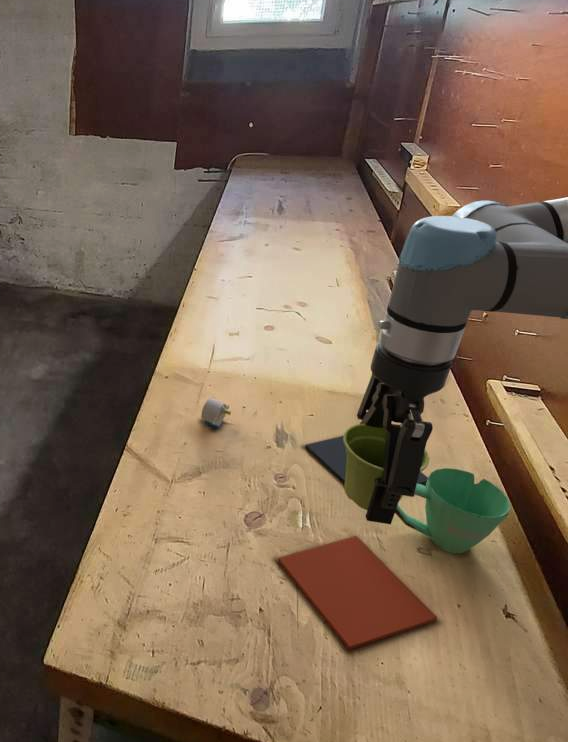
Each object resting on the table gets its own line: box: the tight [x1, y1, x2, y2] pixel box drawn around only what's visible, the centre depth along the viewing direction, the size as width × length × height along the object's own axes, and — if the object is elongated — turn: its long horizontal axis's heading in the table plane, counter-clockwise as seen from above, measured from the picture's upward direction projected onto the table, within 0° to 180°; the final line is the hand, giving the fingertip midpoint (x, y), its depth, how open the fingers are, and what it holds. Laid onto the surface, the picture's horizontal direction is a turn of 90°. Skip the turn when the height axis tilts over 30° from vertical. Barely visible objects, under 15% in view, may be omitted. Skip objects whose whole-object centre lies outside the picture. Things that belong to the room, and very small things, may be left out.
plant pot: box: [342, 423, 430, 511], centre depth 73 cm, size 9×9×9 cm
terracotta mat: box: [277, 535, 438, 650], centre depth 79 cm, size 14×14×1 cm
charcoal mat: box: [305, 435, 429, 485], centre depth 101 cm, size 14×14×1 cm
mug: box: [394, 467, 511, 554], centre depth 85 cm, size 15×10×10 cm
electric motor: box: [200, 397, 232, 429], centre depth 112 cm, size 7×5×5 cm
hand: (368, 495), depth 75 cm, fingers closed on plant pot, 8 cm apart
